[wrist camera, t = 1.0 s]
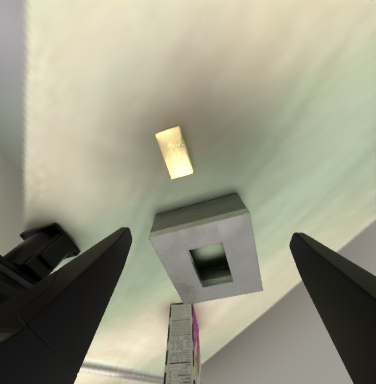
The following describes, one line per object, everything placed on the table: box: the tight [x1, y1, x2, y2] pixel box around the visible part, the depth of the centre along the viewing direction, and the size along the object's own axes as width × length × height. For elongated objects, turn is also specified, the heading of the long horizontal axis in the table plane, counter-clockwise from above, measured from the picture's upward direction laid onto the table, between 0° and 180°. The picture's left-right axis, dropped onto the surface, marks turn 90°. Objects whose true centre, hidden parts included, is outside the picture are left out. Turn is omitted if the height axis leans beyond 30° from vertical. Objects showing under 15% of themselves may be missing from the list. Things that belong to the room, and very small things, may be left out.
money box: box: [148, 193, 263, 305], centre depth 23 cm, size 12×14×5 cm
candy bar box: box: [164, 303, 202, 384], centre depth 28 cm, size 11×5×16 cm, turn 9°
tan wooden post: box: [155, 125, 193, 179], centre depth 18 cm, size 2×5×3 cm, turn 17°
